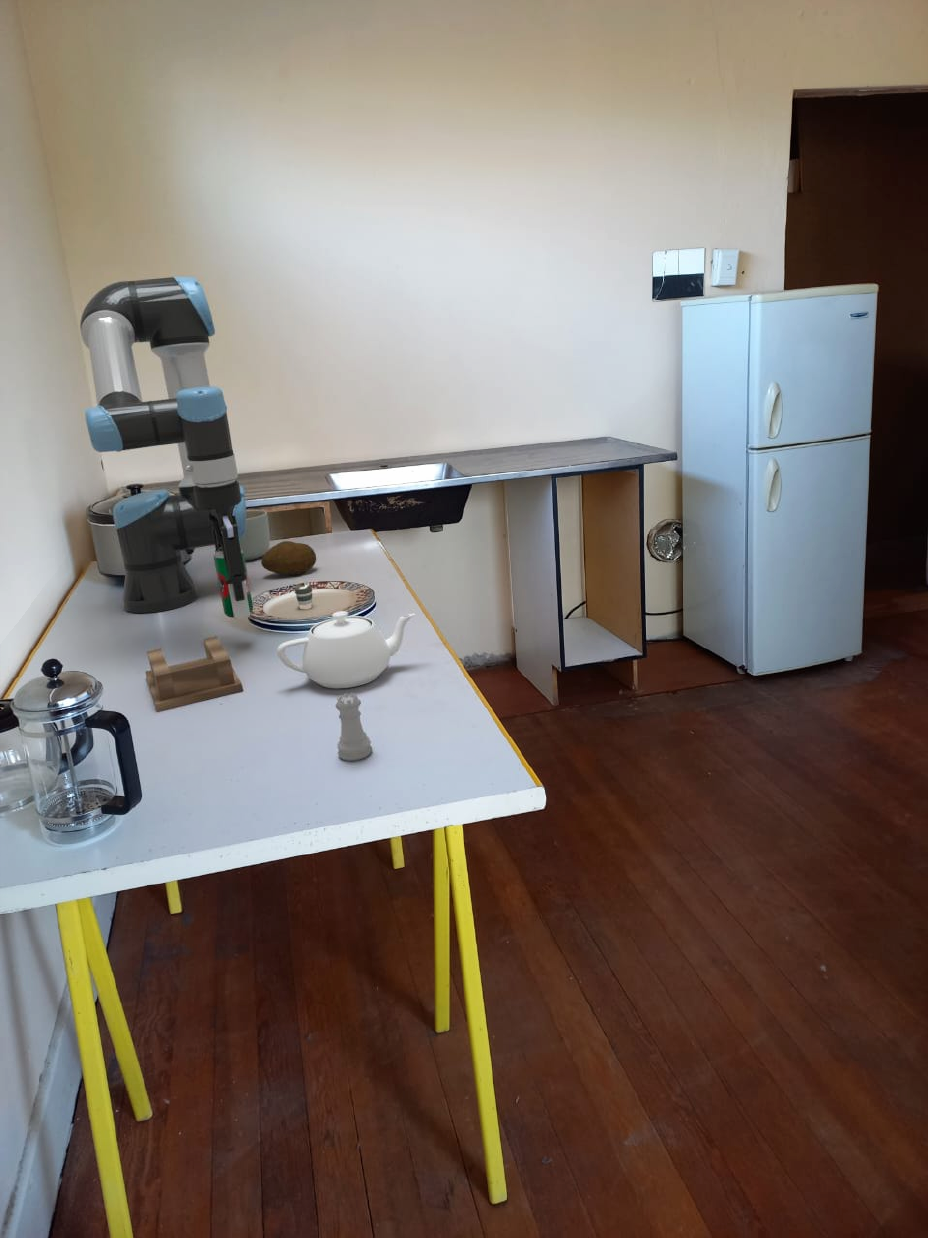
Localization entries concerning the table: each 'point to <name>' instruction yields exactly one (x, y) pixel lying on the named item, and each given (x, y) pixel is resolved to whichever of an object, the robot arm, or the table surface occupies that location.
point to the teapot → (345, 650)
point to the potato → (289, 558)
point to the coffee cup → (304, 594)
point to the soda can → (224, 588)
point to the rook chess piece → (352, 730)
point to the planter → (255, 535)
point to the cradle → (191, 677)
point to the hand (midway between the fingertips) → (239, 611)
